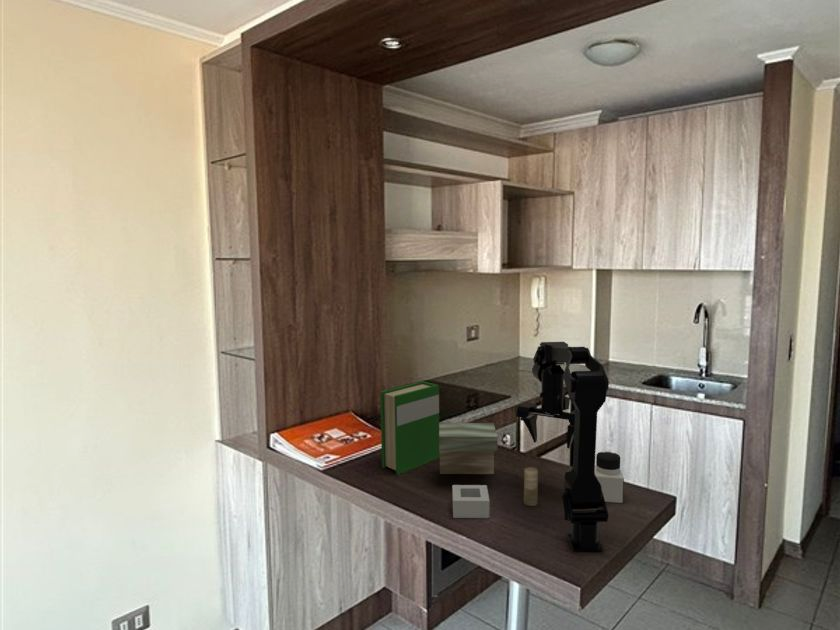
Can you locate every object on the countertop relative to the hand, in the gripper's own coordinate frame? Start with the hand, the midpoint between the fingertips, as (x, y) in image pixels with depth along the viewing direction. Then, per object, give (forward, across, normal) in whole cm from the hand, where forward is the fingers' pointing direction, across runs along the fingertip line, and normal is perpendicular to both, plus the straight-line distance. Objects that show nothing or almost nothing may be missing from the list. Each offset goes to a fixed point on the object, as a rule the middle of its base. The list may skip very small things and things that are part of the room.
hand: (551, 445), depth 148 cm
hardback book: (+14, +44, +2) cm, 46 cm away
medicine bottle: (+14, -13, -6) cm, 20 cm away
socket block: (+14, +15, +19) cm, 28 cm away
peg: (+14, +3, +8) cm, 16 cm away
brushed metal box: (+14, +24, +4) cm, 28 cm away
